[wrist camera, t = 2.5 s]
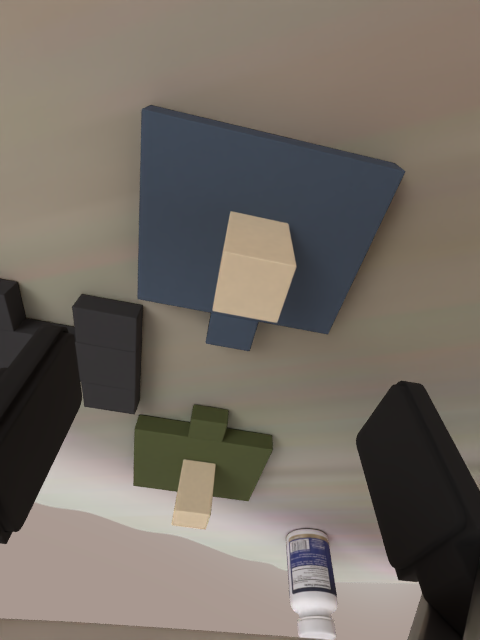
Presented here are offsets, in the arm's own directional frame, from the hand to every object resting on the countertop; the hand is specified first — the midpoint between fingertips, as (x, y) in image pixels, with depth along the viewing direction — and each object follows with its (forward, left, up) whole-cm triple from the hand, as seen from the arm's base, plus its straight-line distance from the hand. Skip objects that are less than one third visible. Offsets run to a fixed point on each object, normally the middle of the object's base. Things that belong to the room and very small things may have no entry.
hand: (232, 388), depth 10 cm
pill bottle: (-17, +39, -12) cm, 44 cm away
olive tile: (-1, +22, -11) cm, 25 cm away
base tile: (+11, +11, -11) cm, 20 cm away
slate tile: (-1, +1, -11) cm, 11 cm away
